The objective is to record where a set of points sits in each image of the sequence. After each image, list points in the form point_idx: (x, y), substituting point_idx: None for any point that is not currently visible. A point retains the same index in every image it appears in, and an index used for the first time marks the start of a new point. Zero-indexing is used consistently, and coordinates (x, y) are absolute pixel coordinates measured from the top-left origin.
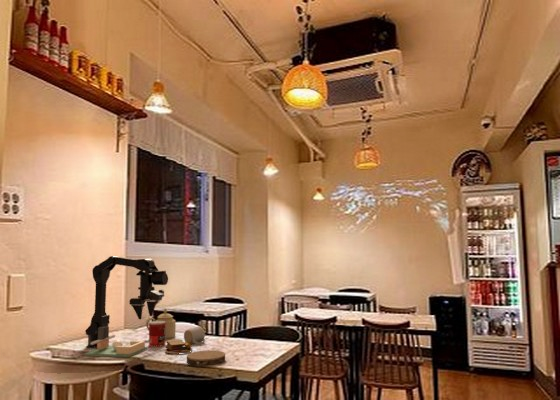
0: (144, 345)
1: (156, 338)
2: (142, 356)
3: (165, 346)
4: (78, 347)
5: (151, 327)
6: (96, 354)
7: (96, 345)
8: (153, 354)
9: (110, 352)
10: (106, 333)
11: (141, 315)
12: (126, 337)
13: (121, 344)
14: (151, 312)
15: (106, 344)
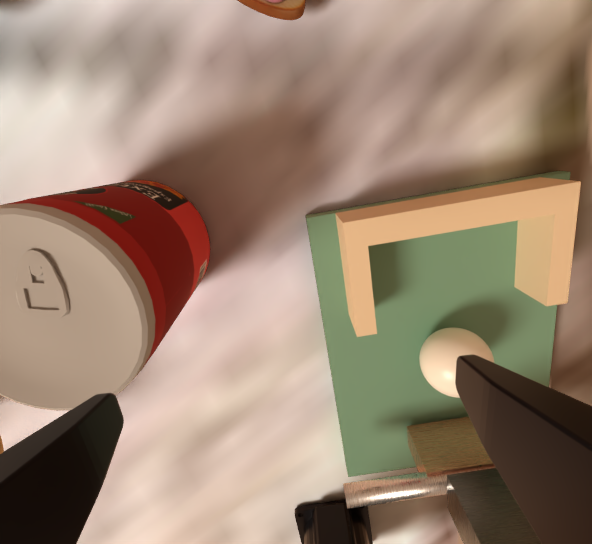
0: (344, 215)
1: (184, 220)
2: (520, 81)
3: (304, 4)
4: None
5: (168, 309)
6: (545, 384)
7: (355, 516)
8: (446, 33)
9: (508, 337)
10: (494, 503)
11: (513, 387)
12: (89, 535)
13: (459, 336)
14: (70, 453)
15: (438, 439)
